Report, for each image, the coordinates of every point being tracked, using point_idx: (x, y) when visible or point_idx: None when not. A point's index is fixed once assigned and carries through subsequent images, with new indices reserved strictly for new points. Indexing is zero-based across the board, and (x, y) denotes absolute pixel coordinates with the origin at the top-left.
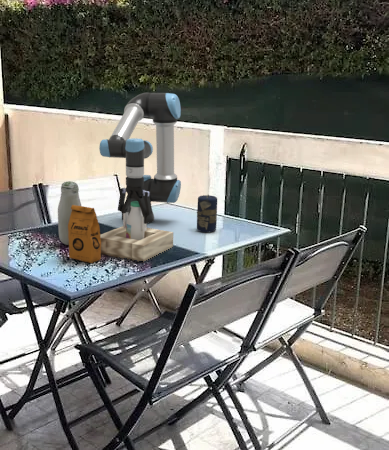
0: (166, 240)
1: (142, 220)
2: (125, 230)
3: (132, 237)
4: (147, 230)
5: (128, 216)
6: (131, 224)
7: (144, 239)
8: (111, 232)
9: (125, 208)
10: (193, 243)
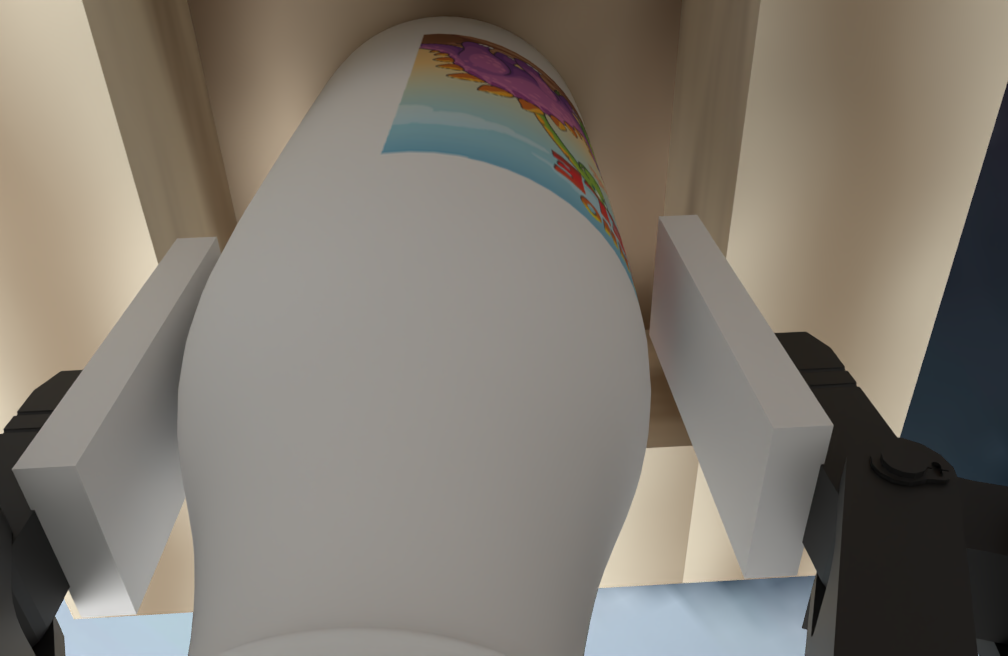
0: None
1: (97, 380)
2: None
3: (375, 70)
4: None
5: (569, 349)
6: (375, 164)
7: (44, 53)
8: (916, 92)
9: (832, 598)
10: (107, 646)
